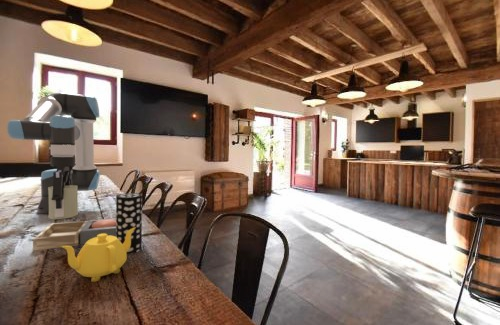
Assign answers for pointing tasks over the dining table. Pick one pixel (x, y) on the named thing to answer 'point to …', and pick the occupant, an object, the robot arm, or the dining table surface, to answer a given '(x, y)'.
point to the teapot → (100, 256)
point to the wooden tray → (59, 235)
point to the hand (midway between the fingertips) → (63, 213)
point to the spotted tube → (129, 219)
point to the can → (65, 202)
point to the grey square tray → (95, 231)
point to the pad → (104, 224)
